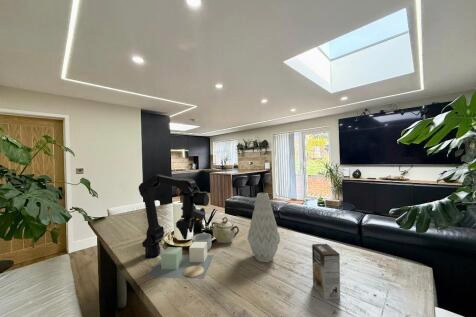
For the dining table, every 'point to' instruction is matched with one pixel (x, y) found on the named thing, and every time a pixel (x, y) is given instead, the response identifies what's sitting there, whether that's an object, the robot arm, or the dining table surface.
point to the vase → (263, 230)
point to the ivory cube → (198, 251)
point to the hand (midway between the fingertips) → (188, 235)
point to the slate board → (180, 268)
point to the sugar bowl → (224, 231)
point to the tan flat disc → (193, 271)
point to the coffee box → (326, 271)
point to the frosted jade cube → (171, 258)
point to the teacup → (203, 239)
